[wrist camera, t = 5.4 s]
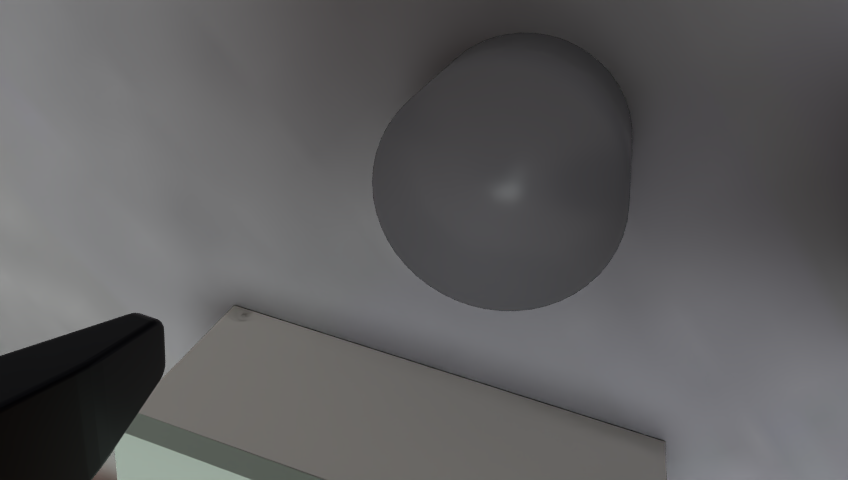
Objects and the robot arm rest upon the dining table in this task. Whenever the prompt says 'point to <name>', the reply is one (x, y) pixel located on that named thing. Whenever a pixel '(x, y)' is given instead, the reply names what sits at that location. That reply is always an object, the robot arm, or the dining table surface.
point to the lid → (189, 457)
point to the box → (379, 413)
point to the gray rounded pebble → (508, 174)
